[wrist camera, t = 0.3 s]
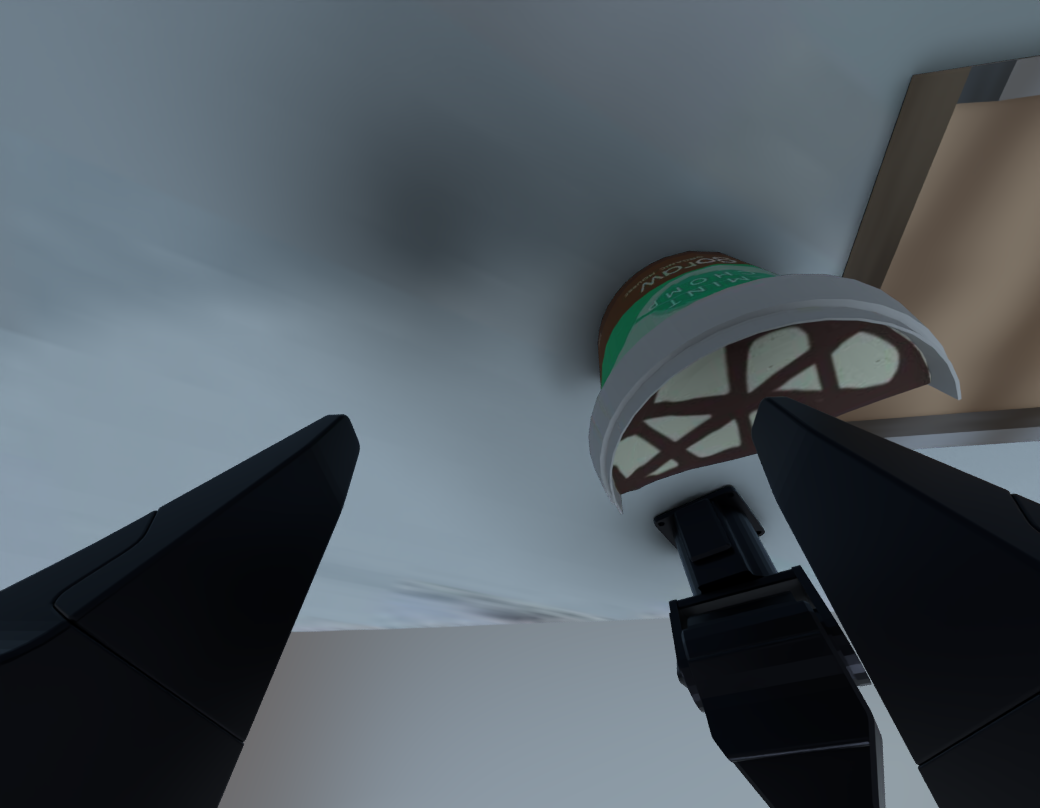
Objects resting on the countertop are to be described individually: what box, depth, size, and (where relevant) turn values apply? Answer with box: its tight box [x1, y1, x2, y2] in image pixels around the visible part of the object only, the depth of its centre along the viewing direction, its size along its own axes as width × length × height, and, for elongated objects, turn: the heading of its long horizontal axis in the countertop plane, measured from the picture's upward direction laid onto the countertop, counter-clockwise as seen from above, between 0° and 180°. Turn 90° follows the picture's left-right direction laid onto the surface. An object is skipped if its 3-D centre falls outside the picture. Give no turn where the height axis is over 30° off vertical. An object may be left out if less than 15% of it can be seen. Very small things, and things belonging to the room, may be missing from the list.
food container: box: [589, 251, 962, 515], centre depth 16 cm, size 12×6×10 cm, turn 122°
